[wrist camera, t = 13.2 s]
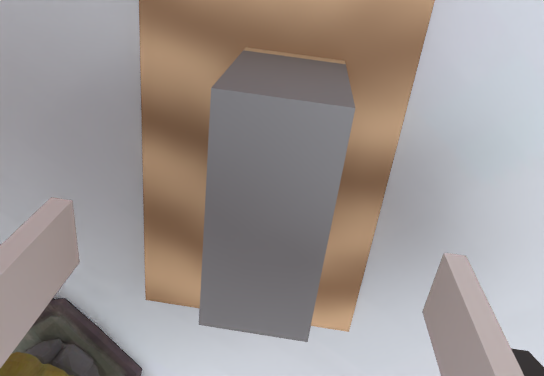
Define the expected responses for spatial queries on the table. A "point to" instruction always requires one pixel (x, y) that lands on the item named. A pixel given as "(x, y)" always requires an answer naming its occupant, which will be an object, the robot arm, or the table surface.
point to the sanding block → (272, 189)
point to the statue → (67, 348)
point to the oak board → (196, 113)
